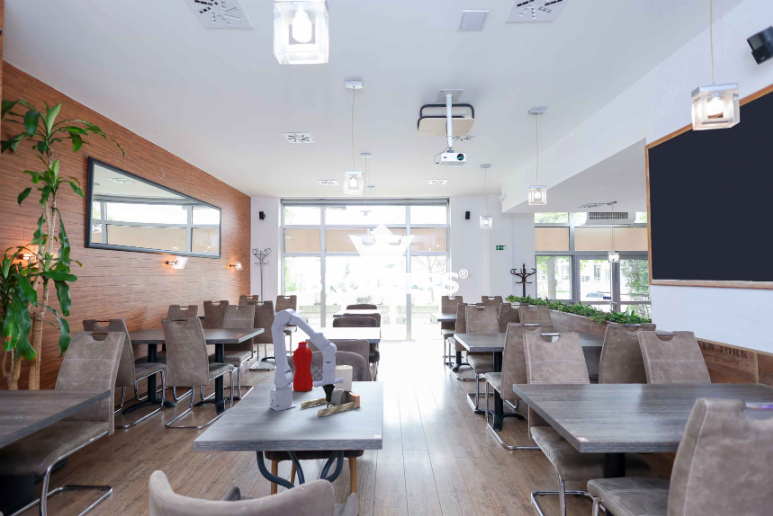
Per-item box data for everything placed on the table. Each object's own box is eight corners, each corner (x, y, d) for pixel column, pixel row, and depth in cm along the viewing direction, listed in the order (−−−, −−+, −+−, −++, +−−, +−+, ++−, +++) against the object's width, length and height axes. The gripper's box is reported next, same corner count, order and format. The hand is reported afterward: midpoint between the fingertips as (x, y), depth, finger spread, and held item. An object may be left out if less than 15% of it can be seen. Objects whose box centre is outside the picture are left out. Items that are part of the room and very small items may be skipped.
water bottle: (296, 386, 228) (296, 339, 229) (315, 388, 225) (314, 340, 226) (287, 391, 219) (287, 342, 220) (306, 392, 216) (306, 343, 217)
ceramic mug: (337, 402, 197) (337, 386, 197) (351, 405, 192) (350, 388, 193) (322, 409, 188) (321, 392, 188) (336, 412, 184) (335, 394, 184)
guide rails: (319, 417, 177) (319, 410, 177) (301, 408, 190) (301, 402, 190) (356, 407, 189) (356, 402, 189) (336, 400, 202) (336, 394, 202)
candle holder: (356, 391, 216) (355, 367, 217) (338, 394, 211) (338, 370, 212) (348, 387, 225) (347, 364, 225) (330, 390, 220) (330, 366, 220)
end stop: (356, 407, 189) (356, 396, 189) (336, 400, 202) (336, 389, 202) (359, 406, 190) (359, 395, 190) (340, 399, 203) (340, 388, 203)
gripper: (319, 374, 183) (318, 406, 183) (347, 370, 192) (347, 400, 192) (311, 371, 189) (310, 402, 188) (339, 367, 198) (338, 397, 197)
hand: (328, 401), depth 190 cm, fingers closed, pressing on ceramic mug
